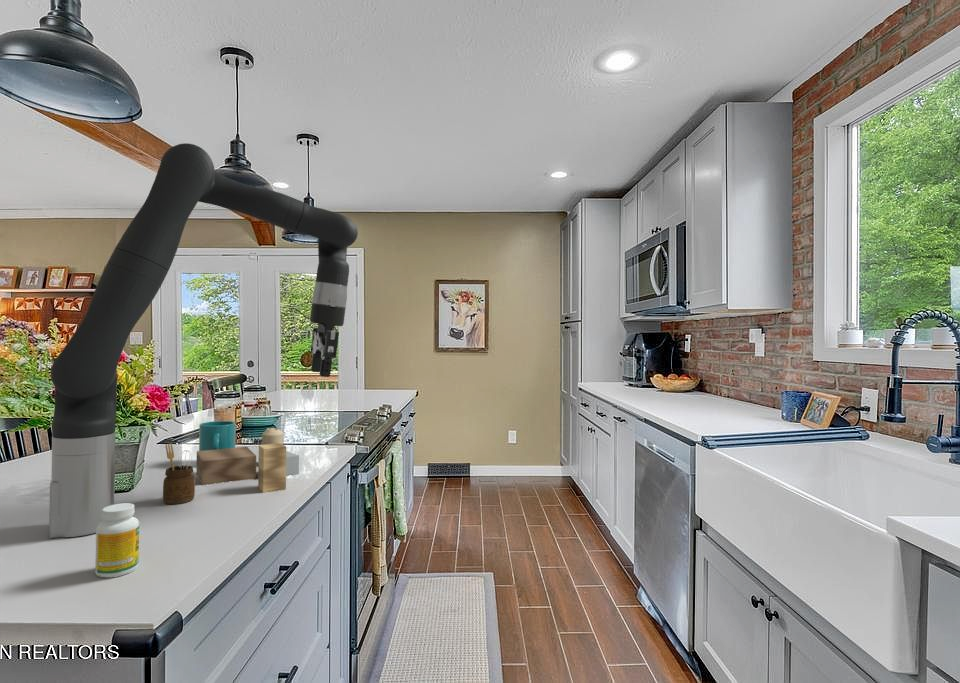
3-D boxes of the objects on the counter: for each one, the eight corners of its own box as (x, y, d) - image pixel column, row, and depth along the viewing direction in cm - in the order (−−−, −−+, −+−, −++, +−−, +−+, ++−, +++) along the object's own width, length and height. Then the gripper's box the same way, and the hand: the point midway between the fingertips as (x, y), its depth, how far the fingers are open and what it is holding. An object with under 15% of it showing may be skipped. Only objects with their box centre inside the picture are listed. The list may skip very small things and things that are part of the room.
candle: (275, 466, 144) (275, 430, 144) (257, 465, 145) (257, 429, 145) (286, 462, 149) (287, 427, 149) (269, 461, 150) (269, 426, 150)
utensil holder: (177, 506, 109) (178, 448, 109) (155, 502, 111) (156, 446, 111) (201, 498, 115) (202, 443, 115) (179, 495, 117) (180, 441, 117)
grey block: (272, 479, 132) (272, 459, 132) (260, 474, 137) (260, 455, 137) (298, 474, 137) (299, 455, 137) (286, 469, 142) (286, 451, 142)
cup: (196, 471, 138) (196, 428, 138) (200, 461, 149) (201, 421, 149) (234, 468, 142) (234, 426, 142) (235, 458, 153) (236, 420, 153)
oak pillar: (263, 492, 120) (263, 449, 120) (258, 487, 124) (258, 445, 124) (285, 489, 122) (286, 446, 122) (280, 484, 127) (280, 443, 127)
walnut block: (202, 486, 125) (202, 461, 125) (196, 474, 136) (196, 451, 136) (255, 479, 132) (256, 455, 132) (246, 468, 143) (246, 446, 143)
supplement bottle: (91, 570, 79) (92, 506, 79) (133, 560, 83) (134, 499, 83) (100, 582, 75) (101, 515, 75) (143, 570, 79) (144, 507, 79)
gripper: (305, 301, 125) (296, 369, 125) (319, 301, 112) (310, 376, 112) (337, 306, 129) (328, 371, 129) (354, 306, 116) (344, 379, 116)
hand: (320, 374), depth 120 cm, fingers open, 8 cm apart
